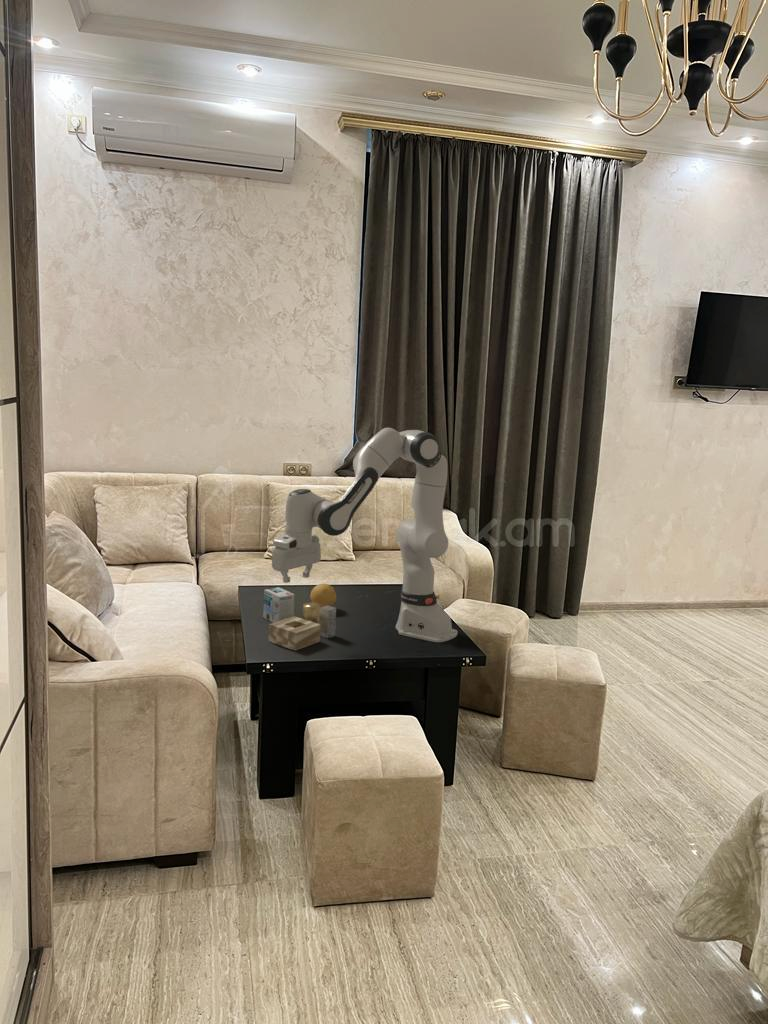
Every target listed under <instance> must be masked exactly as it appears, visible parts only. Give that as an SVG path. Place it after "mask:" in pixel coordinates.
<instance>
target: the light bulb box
mask: <svg viewBox="0 0 768 1024" xmlns="http://www.w3.org/2000/svg"><path fill="white" fill-rule="evenodd" d="M295 596H296V595H295V593H293V592H290V591H289V590H286V589H284V588H282V587H273V588H267V589H264V590H263V618H264V619H265V620H267V621H269V622H271V624H272V623H275V622H278V621H281V620H284V619H287V618H290V617H293V616H295V615H294V612H295V611H294V610H295Z"/></svg>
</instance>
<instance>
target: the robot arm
mask: <svg viewBox="0 0 768 1024" xmlns="http://www.w3.org/2000/svg"><path fill="white" fill-rule="evenodd" d="M441 450H442V449H441V443H440V441H439V439H438V437H436V436H435V435H434V434H432V433H431V432H427V431H423V430H420V429H402V430H399V431H398V430H396V429H395V428H392V427H384V428H382V429H381V430H379V431H378V432H377V433H375V434H374V435H373V436H372V437H370V439H369V440H368V441H367V442H365V444H364V445H362V447H361V448H360V449H359V450H358V452H357V453H356V455H355V456H354V458H353V460H352V467H353V471H354V479H353V482H352V484H351V485H350V486H349V487H348V488H347V490H346V491H345V492H344V494H343V495H342V496H341V497H340V498H339V500H337V501H335V502H334V501H332V500H330V499H328V498H325V497H322V496H320V495H318V494H316V493H314V492H313V491H312V490H311V489H308V488H300V489H299V488H298V489H295V490H292V491H291V492H289V494H288V495H287V499H286V502H285V503H286V505H285V514H284V515H285V516H284V517H285V522H286V523H285V526H284V532H283V533H281V534H280V535H279V536H278V537H276V538H274V539H273V541H272V545H273V547H274V548H272V549H273V550H272V552H271V553H272V554H271V555H272V556H271V568H272V569H273V570H274V571H277V572H280V574H281V575H282V582H283V583H285V584H287V583H290V582H291V577H290V576H289V574H288V573H289V571H290V570H292V569H293V570H294V569H298V568H301V567H305V568H304V570H303V571H302V577H303V578H305V579H306V578H309V577H310V573H311V571H312V568H313V564H314V565H315V564H318V563H319V562H320V561H321V559H322V558H321V557H322V555H321V553H322V551H321V544H320V538H319V537H318V536H317V535H315V534H314V535H313V528H318V529H320V530H321V531H322V532H323V533H324V534H326V535H328V536H331V537H335V536H340V535H343V533H346V531H347V530H348V529H349V527H350V524H351V522H352V520H353V517H354V515H355V513H356V511H357V510H358V509H359V507H360V506H361V505H362V504H363V502H364V501H365V500H366V498H367V497H368V495H370V493H371V492H372V490H373V489H374V487H375V486H376V485H377V482H378V481H379V480H380V479H381V476H382V475H383V474H384V473H385V472H386V471H387V470H388V469H389V468H390V466H391V465H392V464H393V463H394V461H396V460H397V459H400V460H404V461H407V462H410V463H414V464H415V467H416V474H415V479H414V484H413V490H412V497H411V507H412V509H413V512H414V513H413V514H414V518H411V519H410V518H409V519H403V520H402V521H400V522H399V523H398V525H397V526H396V529H395V537H396V540H397V542H398V544H399V549H400V554H401V560H402V566H403V569H402V570H403V572H402V588H401V591H400V609H399V614H398V618H397V622H396V624H395V629H396V630H397V631H398V635H399V636H400V635H401V636H405V637H409V638H415V639H419V640H424V641H428V642H433V643H444V642H447V641H450V640H452V639H454V638H456V637H457V636H458V630H457V629H454V628H452V627H453V626H452V619H451V616H450V615H449V614H448V613H447V612H446V611H445V610H444V609H443V608H442V606H440V605H439V604H438V600H439V599H440V595H439V594H438V595H436V594H435V591H434V587H435V568H434V566H433V564H432V561H431V559H437V558H440V557H442V556H443V555H444V554H446V552H447V551H448V548H449V538H448V536H447V533H446V531H445V526H444V515H443V510H444V509H443V508H444V501H445V496H446V495H445V494H446V489H447V480H448V459H447V458H446V457H445V456H444V455H443V454H442V451H441Z"/></svg>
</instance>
